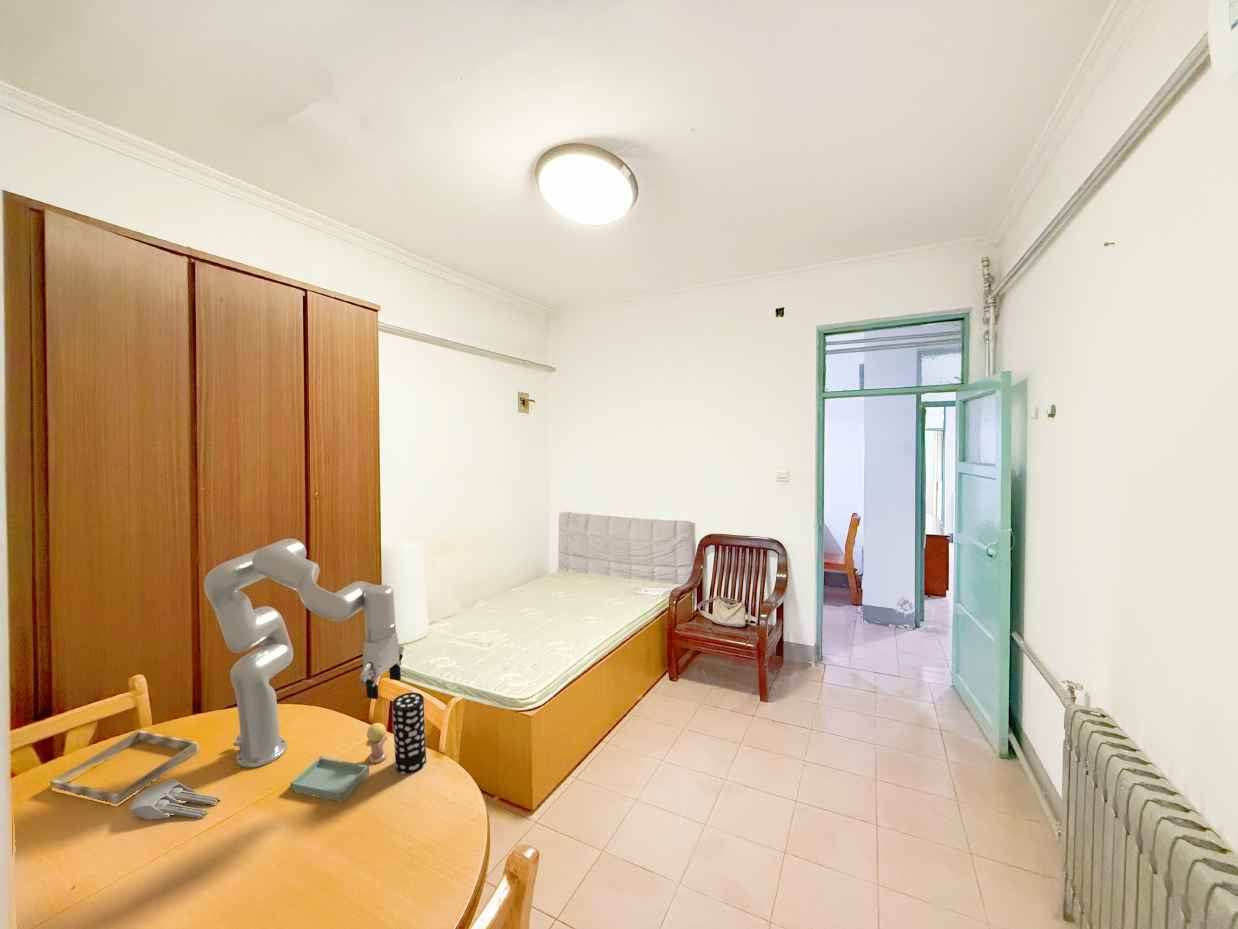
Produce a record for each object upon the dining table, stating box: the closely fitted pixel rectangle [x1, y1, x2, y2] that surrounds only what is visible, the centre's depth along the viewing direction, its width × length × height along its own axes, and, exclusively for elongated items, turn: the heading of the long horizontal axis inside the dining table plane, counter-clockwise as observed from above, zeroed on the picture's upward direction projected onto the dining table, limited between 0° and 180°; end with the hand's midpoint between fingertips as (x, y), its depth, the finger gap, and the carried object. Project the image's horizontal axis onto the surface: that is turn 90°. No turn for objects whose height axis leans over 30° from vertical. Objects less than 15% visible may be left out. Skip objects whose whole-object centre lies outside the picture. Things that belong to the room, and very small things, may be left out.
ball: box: [366, 722, 386, 742], centre depth 165 cm, size 5×5×5 cm
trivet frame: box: [49, 730, 200, 805], centre depth 159 cm, size 23×23×3 cm
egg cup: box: [365, 735, 388, 764], centre depth 165 cm, size 5×5×6 cm
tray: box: [290, 756, 370, 802], centre depth 156 cm, size 16×11×2 cm
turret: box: [129, 778, 221, 821], centre depth 146 cm, size 10×20×5 cm, turn 88°
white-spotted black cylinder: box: [392, 692, 427, 775], centre depth 162 cm, size 8×8×20 cm
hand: (384, 688), depth 157 cm, fingers open, 9 cm apart
